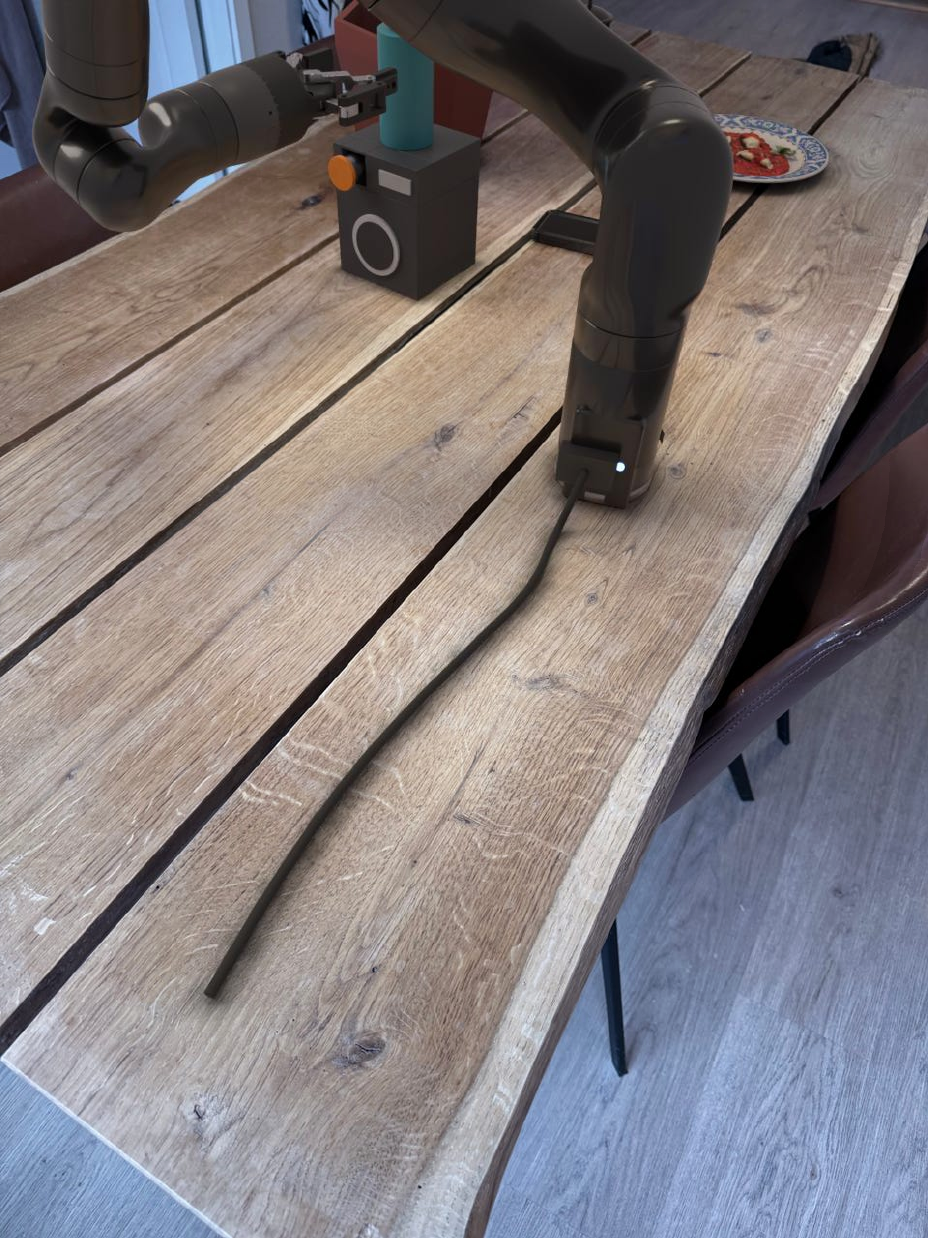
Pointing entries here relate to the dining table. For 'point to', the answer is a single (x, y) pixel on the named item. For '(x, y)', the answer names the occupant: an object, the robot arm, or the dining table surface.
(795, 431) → the dining table surface
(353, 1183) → the dining table surface
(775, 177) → the ceramic plate
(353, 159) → the power button
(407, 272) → the washer
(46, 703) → the dining table surface
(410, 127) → the detergent bottle
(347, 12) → the bucket
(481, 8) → the robot arm
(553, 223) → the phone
